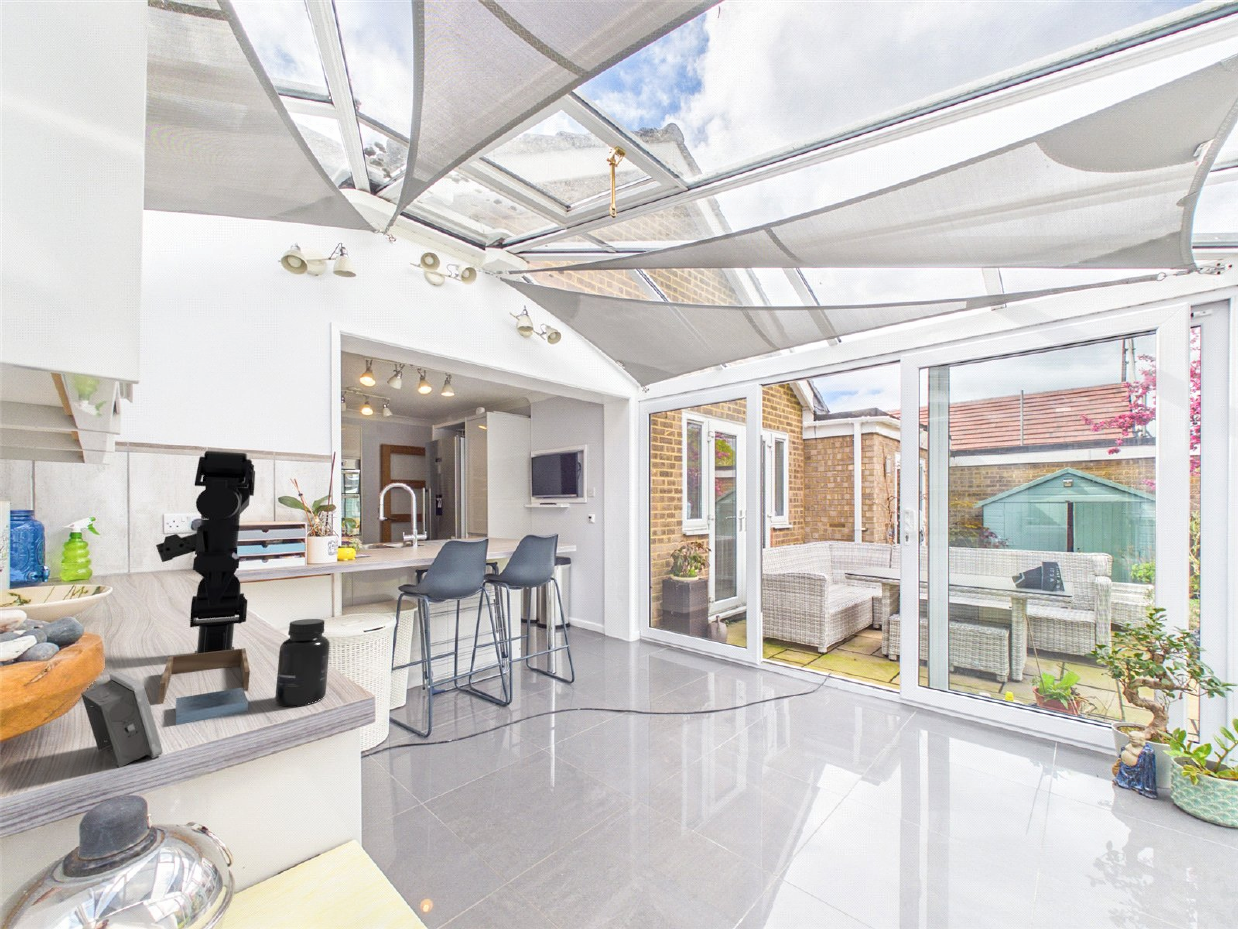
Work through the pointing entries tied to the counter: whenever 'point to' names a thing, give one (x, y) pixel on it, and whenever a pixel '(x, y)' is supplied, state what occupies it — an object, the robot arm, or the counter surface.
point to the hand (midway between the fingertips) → (212, 606)
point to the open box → (204, 666)
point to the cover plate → (210, 705)
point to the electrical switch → (122, 720)
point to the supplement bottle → (303, 664)
